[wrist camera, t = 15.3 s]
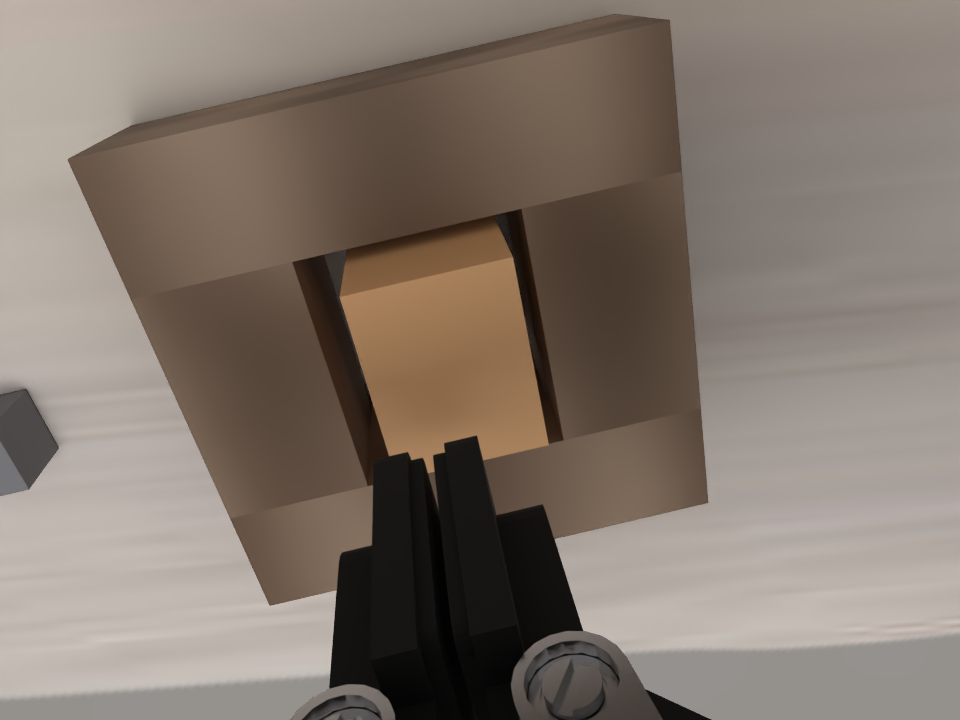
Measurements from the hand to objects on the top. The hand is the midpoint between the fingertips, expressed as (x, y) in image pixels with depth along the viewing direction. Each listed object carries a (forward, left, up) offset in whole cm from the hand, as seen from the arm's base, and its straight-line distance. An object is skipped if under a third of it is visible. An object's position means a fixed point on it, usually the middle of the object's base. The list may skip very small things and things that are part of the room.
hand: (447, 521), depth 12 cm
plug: (0, 0, -10) cm, 10 cm away
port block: (0, 0, -10) cm, 10 cm away
